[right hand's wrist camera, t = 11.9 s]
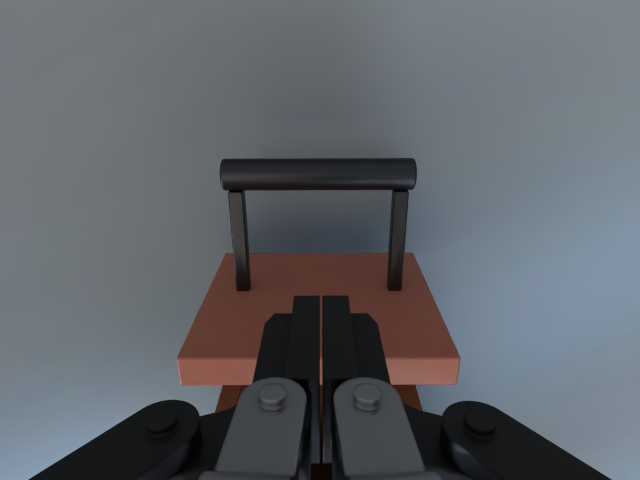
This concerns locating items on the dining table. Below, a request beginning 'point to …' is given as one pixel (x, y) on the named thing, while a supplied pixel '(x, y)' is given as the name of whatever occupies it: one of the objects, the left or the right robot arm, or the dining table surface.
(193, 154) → the dining table surface
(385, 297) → the drawer
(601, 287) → the dining table surface
